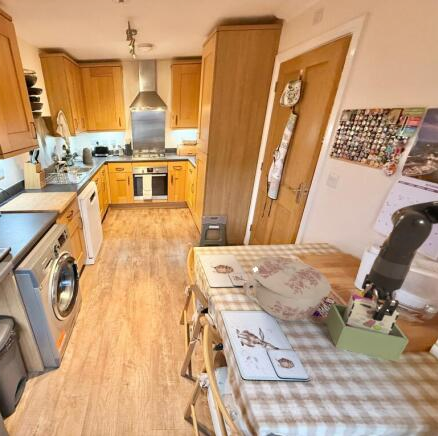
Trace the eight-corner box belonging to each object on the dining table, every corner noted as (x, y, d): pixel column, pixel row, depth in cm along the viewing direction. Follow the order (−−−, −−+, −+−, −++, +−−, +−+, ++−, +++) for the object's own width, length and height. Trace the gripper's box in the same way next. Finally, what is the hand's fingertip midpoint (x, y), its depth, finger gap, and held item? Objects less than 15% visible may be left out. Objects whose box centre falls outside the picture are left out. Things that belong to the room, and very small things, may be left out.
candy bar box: (377, 340, 81) (395, 304, 75) (381, 351, 77) (401, 314, 71) (338, 327, 87) (351, 293, 80) (340, 337, 83) (354, 302, 76)
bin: (378, 333, 85) (388, 313, 81) (396, 362, 75) (409, 340, 71) (324, 322, 90) (331, 302, 86) (335, 347, 80) (343, 326, 76)
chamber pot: (319, 299, 101) (332, 259, 93) (319, 347, 81) (336, 301, 72) (251, 278, 116) (258, 242, 108) (237, 314, 95) (243, 273, 87)
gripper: (420, 287, 63) (397, 331, 70) (391, 260, 76) (373, 299, 82) (386, 282, 66) (366, 325, 72) (362, 256, 78) (348, 294, 85)
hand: (370, 311), depth 77 cm, fingers open, 7 cm apart
